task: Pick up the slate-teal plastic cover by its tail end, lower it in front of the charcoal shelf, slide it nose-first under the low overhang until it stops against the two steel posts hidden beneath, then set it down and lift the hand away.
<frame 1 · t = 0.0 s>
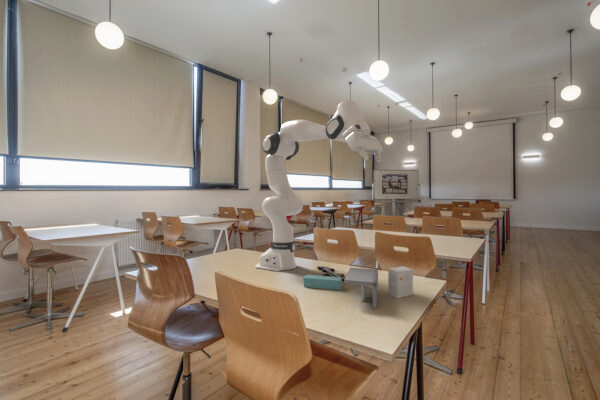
hand: (373, 160, 122), 54 cm above the table, tool tilted 30°, fingers open, 8 cm apart
overhang shelf: (347, 297, 117), on the table
small box: (400, 295, 120), on the table
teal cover: (322, 286, 130), on the table
black toy gun: (331, 276, 148), on the table
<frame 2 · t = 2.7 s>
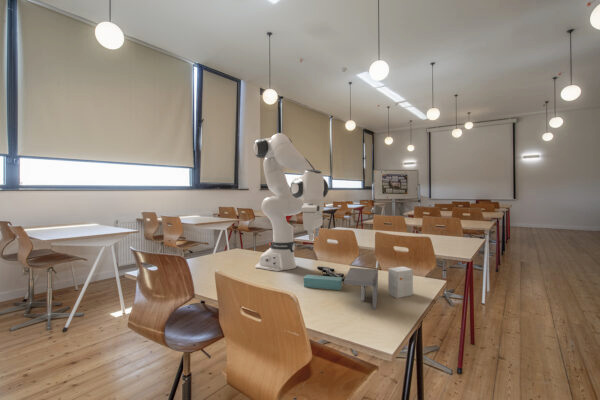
hand: (313, 238, 130), 21 cm above the table, tool pointing down, fingers open, 8 cm apart
nothing on the table moved.
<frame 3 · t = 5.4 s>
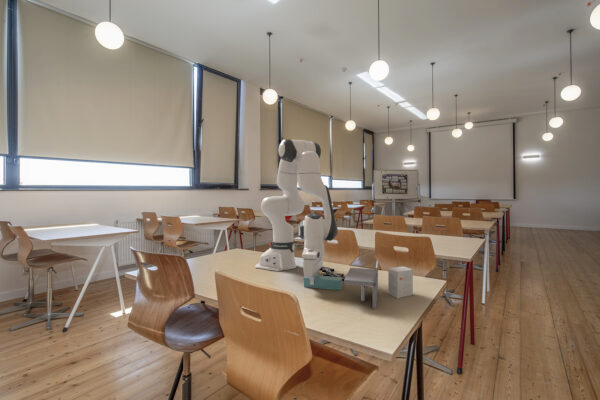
hand: (314, 282, 131), 2 cm above the table, tool pointing down, fingers closed on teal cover, 5 cm apart
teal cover: (322, 286, 130), on the table, touching gripper
everything else where it was.
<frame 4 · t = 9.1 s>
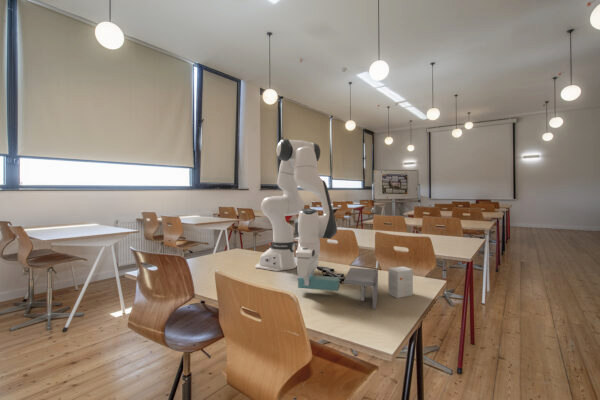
hand: (309, 282, 121), 4 cm above the table, tool pointing down, fingers closed on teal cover, 5 cm apart
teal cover: (318, 287, 120), point 3 cm above the table, touching gripper
everything else where it was.
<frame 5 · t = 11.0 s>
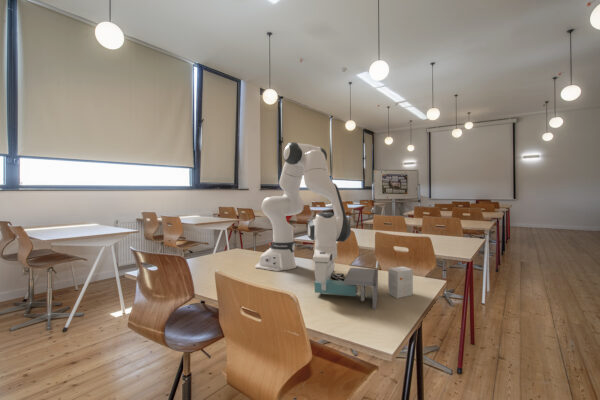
hand: (325, 287, 119), 3 cm above the table, tool pointing down, fingers closed on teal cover, 5 cm apart
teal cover: (335, 292, 118), point 2 cm above the table, touching gripper
everything else where it was.
when the fingers open (2 cm above the table, at t = 12.8 s): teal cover stays where it is, on the table.
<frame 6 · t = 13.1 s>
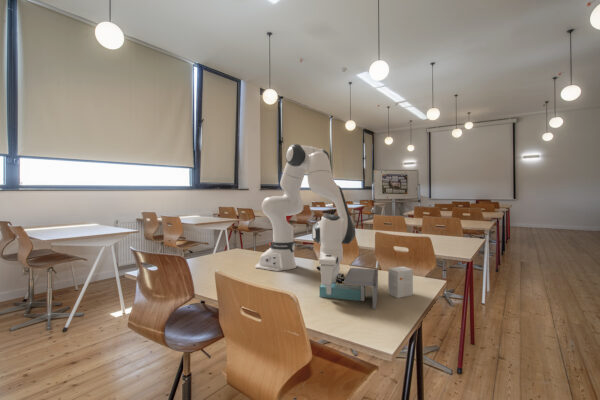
hand: (331, 290, 118), 2 cm above the table, tool pointing down, fingers open, 8 cm apart
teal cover: (340, 296, 117), on the table
everything else where it was.
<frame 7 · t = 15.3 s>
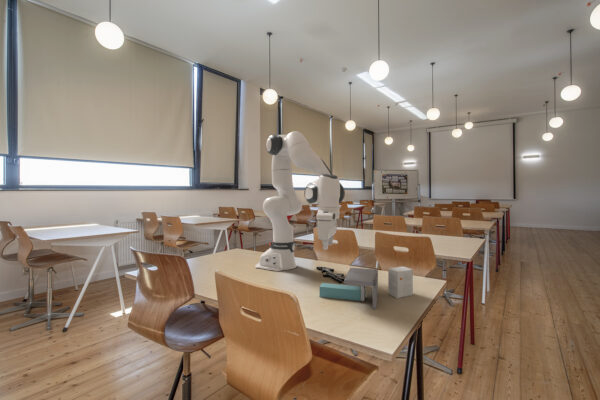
hand: (327, 247, 122), 19 cm above the table, tool pointing down, fingers open, 8 cm apart
nothing on the table moved.
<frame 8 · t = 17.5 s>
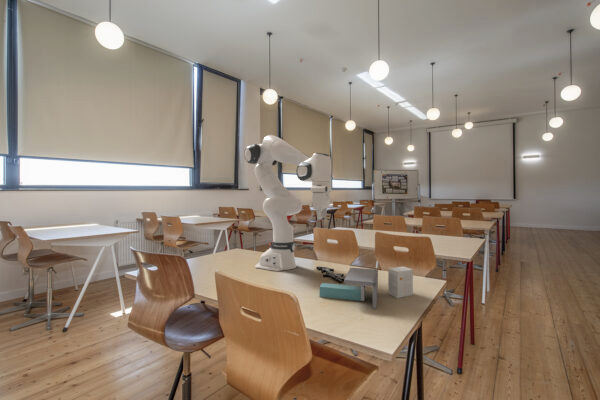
hand: (321, 218, 136), 29 cm above the table, tool pointing down, fingers open, 8 cm apart
nothing on the table moved.
at the end: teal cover 0.1 cm from the target spot, on the table; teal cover tilted 0°; the gripper is holding nothing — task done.
